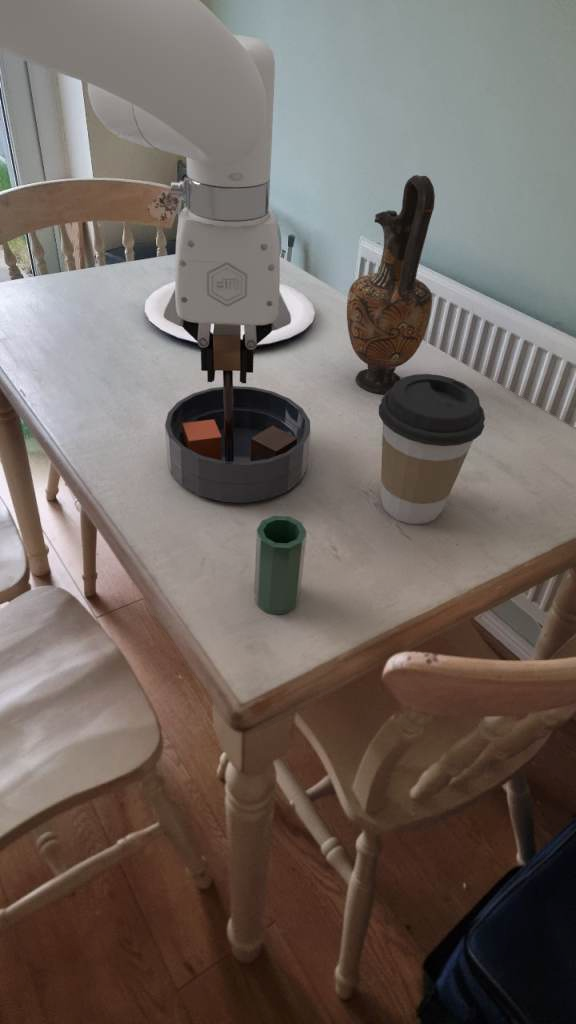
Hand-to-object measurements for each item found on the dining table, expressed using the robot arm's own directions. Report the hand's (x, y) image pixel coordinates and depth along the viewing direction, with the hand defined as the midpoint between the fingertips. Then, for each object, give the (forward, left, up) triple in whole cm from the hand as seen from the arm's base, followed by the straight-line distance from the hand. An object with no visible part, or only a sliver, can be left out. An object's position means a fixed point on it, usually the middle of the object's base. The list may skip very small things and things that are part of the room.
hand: (227, 375), depth 75 cm
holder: (+12, -17, -14) cm, 25 cm away
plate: (-17, +43, -14) cm, 49 cm away
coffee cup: (+22, +3, -14) cm, 26 cm away
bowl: (0, +3, -14) cm, 14 cm away
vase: (+12, +30, -14) cm, 36 cm away
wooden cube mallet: (0, 0, -12) cm, 12 cm away
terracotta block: (-4, +2, -13) cm, 14 cm away
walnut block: (+5, +4, -13) cm, 15 cm away
